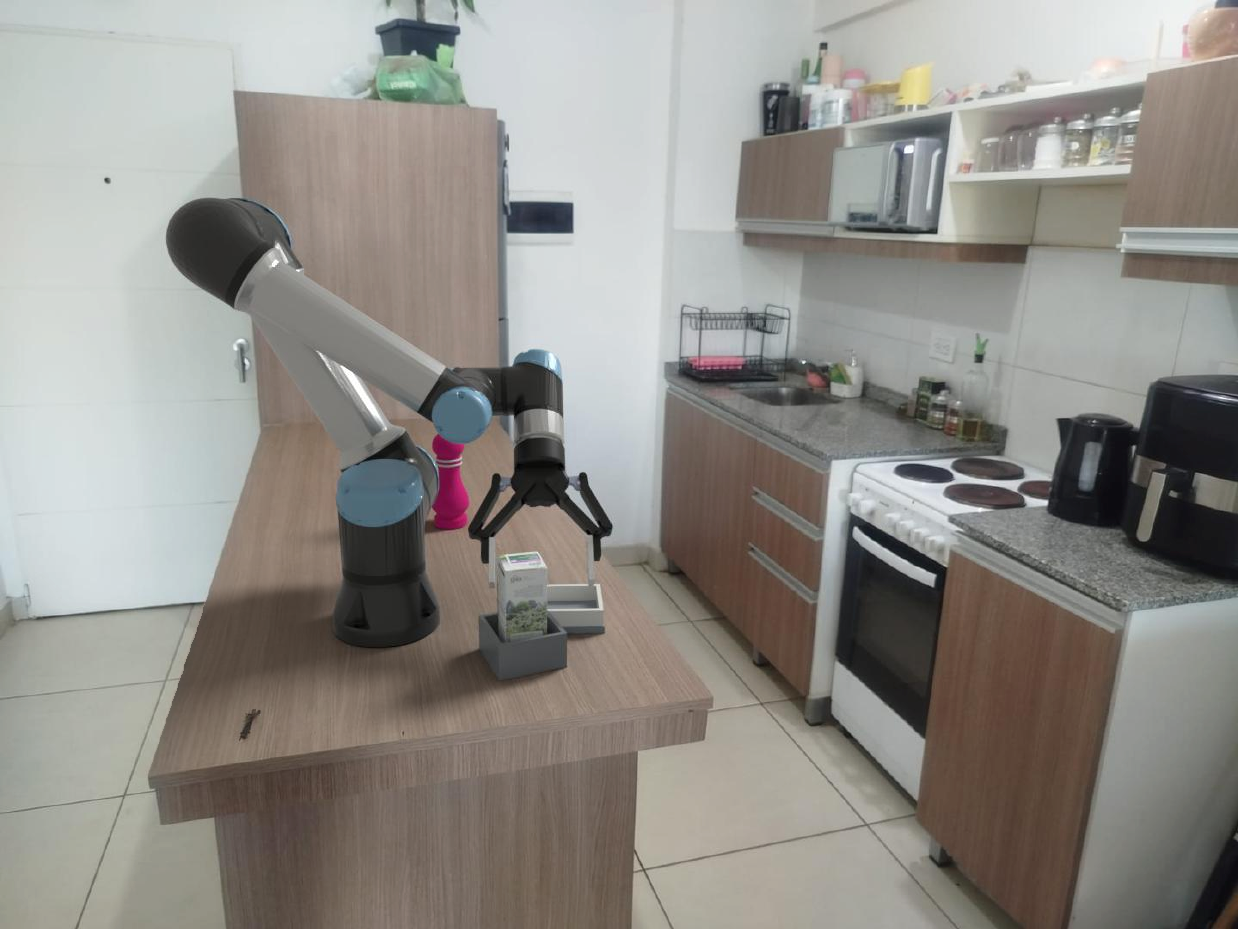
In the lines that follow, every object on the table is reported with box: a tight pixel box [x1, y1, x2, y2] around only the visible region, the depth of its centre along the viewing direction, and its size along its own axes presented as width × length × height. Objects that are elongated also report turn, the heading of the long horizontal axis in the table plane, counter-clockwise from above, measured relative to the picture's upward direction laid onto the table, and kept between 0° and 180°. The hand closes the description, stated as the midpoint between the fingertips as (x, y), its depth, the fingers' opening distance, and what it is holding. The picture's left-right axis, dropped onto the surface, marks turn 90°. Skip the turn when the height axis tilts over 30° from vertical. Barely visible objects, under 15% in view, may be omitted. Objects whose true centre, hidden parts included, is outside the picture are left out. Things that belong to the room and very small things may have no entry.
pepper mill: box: [431, 433, 470, 530], centre depth 164 cm, size 7×7×20 cm
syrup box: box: [496, 551, 549, 643], centre depth 116 cm, size 6×6×14 cm
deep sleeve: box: [478, 610, 568, 682], centre depth 117 cm, size 9×9×5 cm
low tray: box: [547, 583, 606, 634], centre depth 129 cm, size 10×10×4 cm
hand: (542, 584), depth 118 cm, fingers open, 13 cm apart
